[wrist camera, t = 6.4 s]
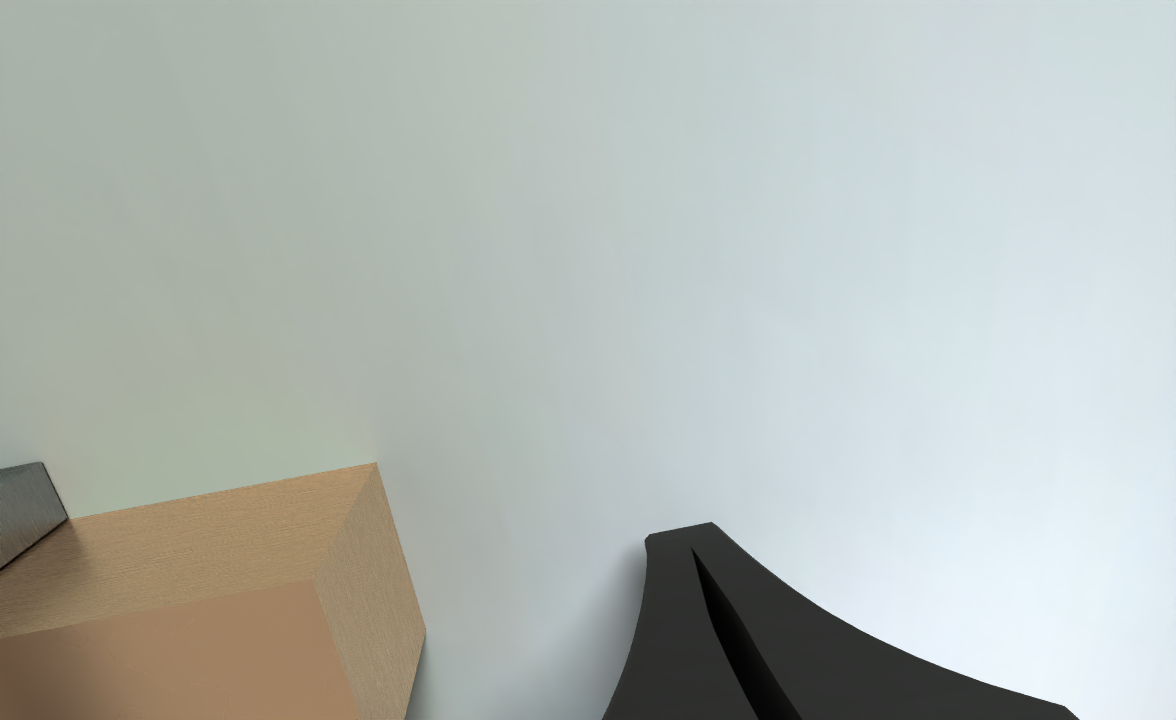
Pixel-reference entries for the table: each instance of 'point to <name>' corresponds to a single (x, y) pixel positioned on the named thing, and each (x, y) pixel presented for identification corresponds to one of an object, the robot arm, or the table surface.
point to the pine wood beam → (216, 609)
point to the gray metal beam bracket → (26, 508)
